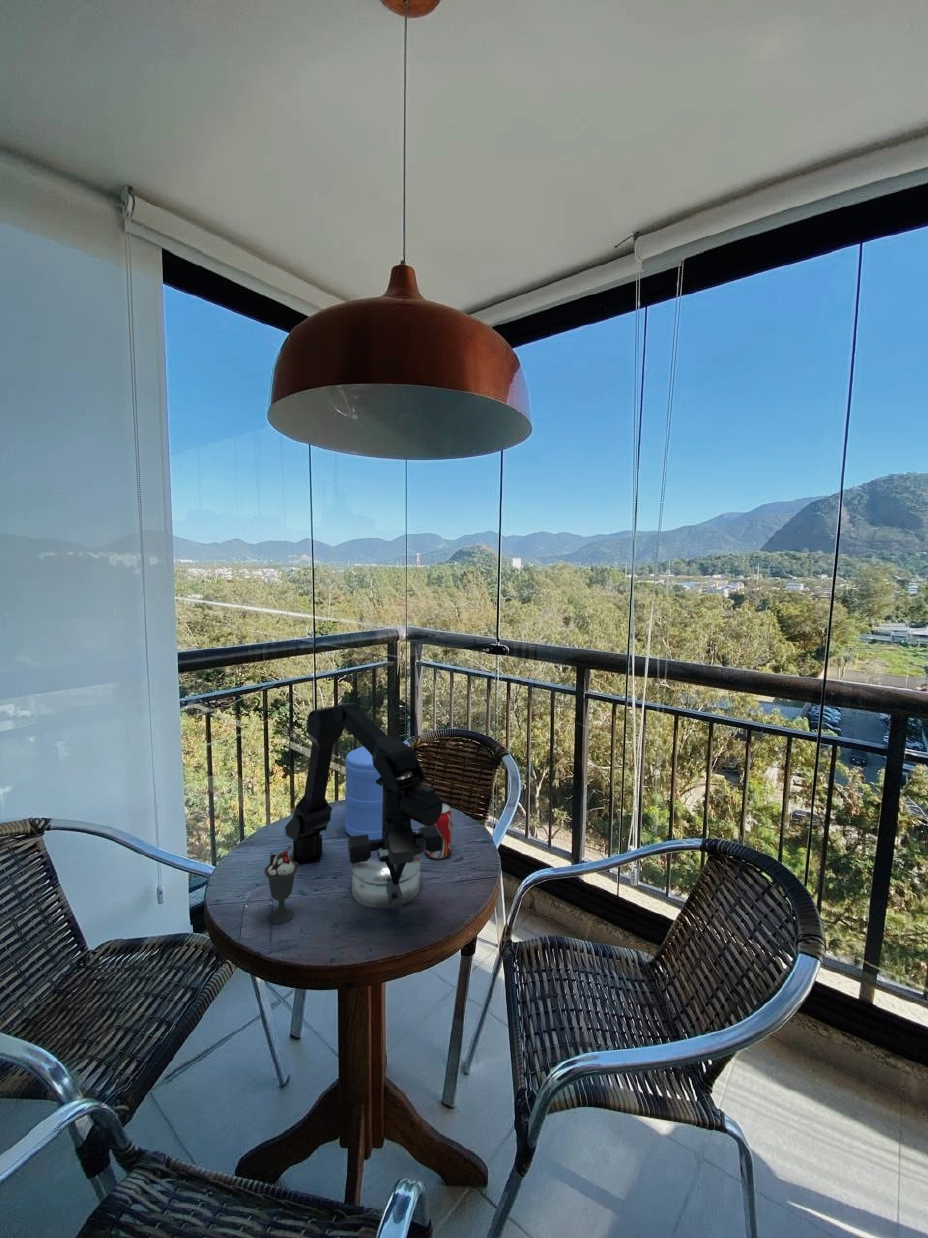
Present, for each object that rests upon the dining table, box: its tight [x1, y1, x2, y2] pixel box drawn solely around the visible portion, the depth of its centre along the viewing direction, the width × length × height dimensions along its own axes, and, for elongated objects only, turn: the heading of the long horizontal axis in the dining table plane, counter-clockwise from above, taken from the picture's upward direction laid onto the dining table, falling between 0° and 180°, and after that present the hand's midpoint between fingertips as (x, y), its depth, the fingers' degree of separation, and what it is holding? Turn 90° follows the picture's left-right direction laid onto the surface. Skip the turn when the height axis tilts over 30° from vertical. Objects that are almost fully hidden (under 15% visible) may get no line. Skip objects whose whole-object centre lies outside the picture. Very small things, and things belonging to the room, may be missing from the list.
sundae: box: [263, 845, 300, 925], centre depth 102 cm, size 7×7×15 cm
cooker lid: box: [351, 851, 421, 904], centre depth 110 cm, size 15×22×2 cm
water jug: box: [344, 745, 402, 841], centre depth 140 cm, size 16×16×28 cm
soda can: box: [424, 802, 453, 860], centre depth 128 cm, size 7×7×12 cm
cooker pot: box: [351, 868, 421, 911], centre depth 111 cm, size 15×22×5 cm, turn 18°
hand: (395, 884), depth 103 cm, fingers closed
